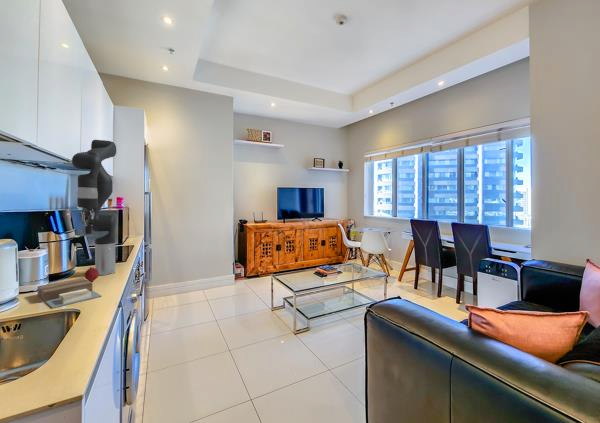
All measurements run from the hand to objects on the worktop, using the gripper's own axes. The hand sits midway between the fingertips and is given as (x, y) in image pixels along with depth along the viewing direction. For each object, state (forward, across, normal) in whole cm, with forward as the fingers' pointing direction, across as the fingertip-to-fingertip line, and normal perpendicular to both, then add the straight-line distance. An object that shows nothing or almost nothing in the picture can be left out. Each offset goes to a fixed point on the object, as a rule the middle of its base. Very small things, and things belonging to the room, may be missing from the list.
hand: (88, 233), depth 125 cm
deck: (+26, -2, +9) cm, 27 cm away
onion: (+26, +10, -4) cm, 28 cm away
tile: (+23, -14, +9) cm, 28 cm away
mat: (+26, -13, +9) cm, 30 cm away
